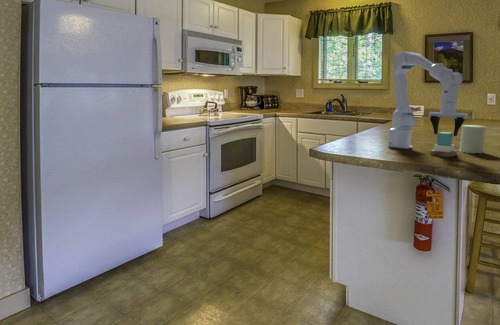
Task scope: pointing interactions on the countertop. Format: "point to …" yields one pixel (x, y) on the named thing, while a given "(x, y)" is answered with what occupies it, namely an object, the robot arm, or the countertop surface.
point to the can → (472, 138)
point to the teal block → (444, 138)
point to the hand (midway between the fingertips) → (445, 134)
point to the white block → (444, 148)
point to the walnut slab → (443, 153)
